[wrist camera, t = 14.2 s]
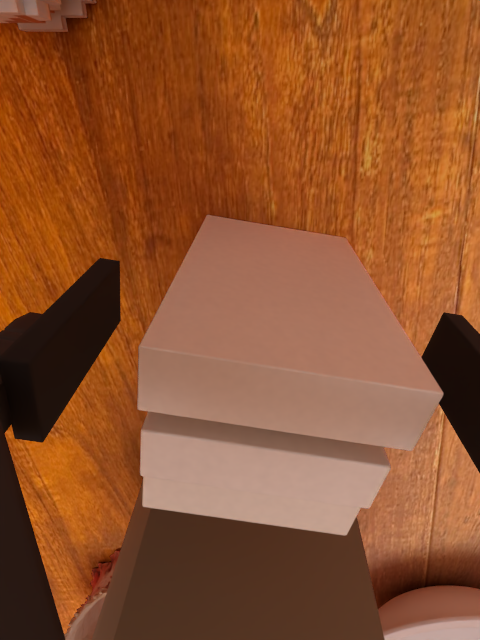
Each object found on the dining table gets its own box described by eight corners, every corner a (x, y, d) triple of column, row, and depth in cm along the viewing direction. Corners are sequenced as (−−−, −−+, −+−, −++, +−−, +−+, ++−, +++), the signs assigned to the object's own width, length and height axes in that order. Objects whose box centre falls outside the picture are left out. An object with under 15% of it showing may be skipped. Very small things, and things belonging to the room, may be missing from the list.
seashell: (167, 611, 54) (237, 581, 47) (150, 720, 45) (233, 701, 38) (58, 574, 48) (121, 532, 41) (14, 691, 39) (85, 663, 32)
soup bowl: (577, 613, 45) (623, 687, 39) (400, 661, 54) (417, 727, 48) (483, 518, 37) (524, 594, 31) (294, 592, 46) (299, 662, 40)
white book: (206, 214, 24) (138, 345, 11) (346, 237, 24) (445, 393, 11) (202, 251, 25) (136, 410, 12) (335, 273, 25) (412, 452, 12)
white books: (200, 271, 26) (140, 430, 13) (329, 292, 26) (392, 467, 13) (192, 346, 29) (137, 533, 16) (307, 364, 29) (342, 561, 16)
